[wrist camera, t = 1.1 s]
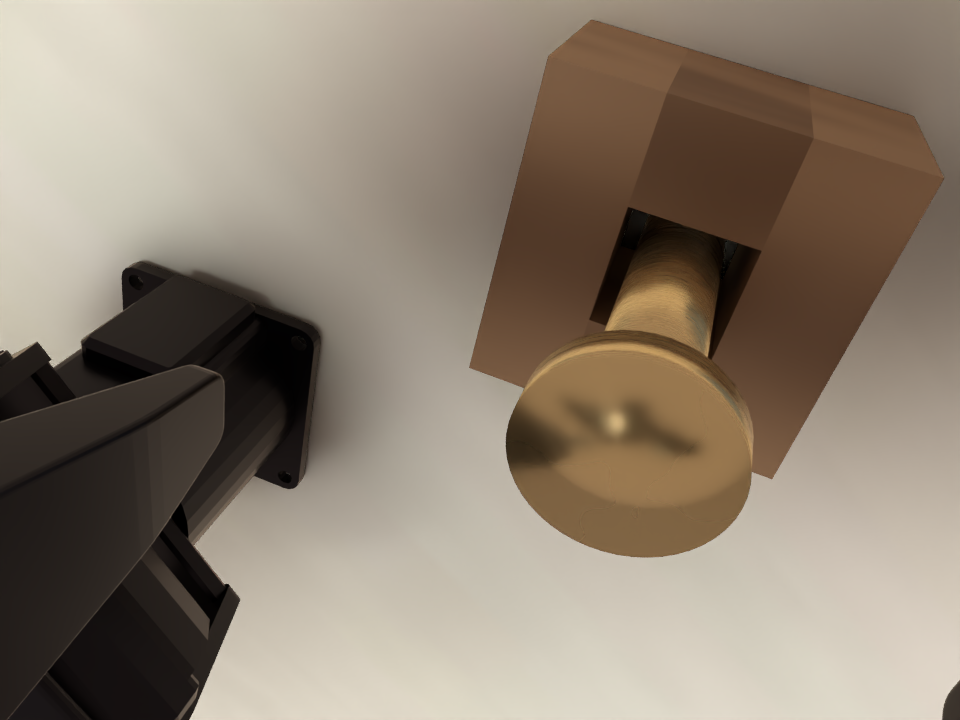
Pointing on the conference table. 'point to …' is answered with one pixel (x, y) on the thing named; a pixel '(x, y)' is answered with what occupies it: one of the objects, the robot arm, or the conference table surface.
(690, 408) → the brass pin
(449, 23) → the conference table surface
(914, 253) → the conference table surface
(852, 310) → the pin block
